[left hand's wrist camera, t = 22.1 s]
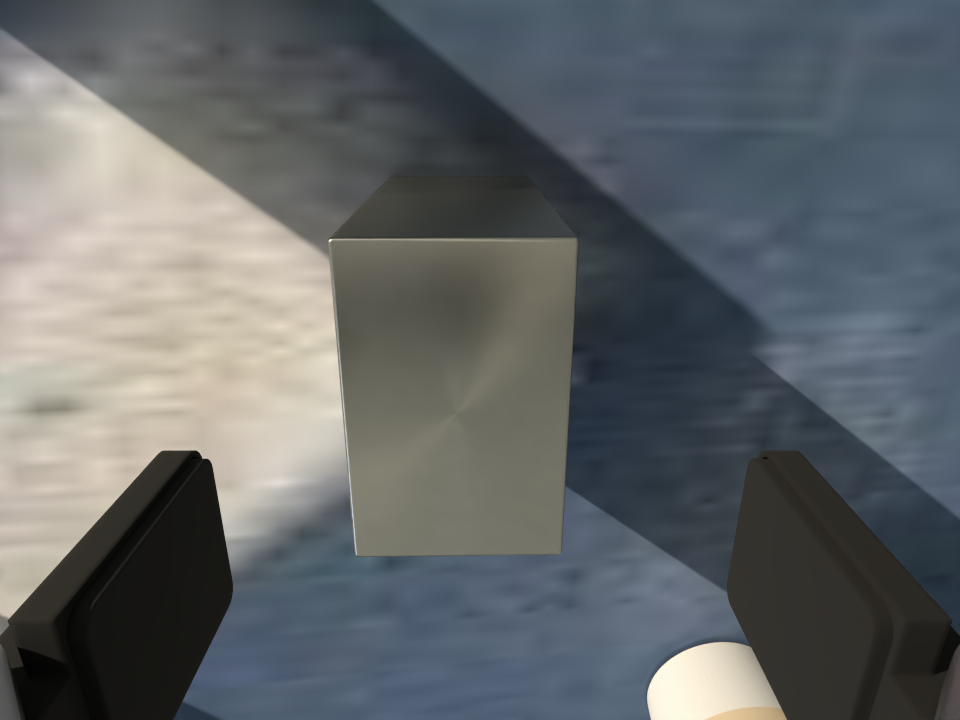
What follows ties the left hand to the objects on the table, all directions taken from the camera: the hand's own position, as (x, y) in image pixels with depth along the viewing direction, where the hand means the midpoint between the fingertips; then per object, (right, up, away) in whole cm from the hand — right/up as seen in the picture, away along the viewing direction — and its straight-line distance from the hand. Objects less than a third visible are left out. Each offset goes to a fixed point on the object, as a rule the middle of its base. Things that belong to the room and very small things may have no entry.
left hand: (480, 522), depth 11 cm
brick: (-1, +6, +15) cm, 16 cm away
